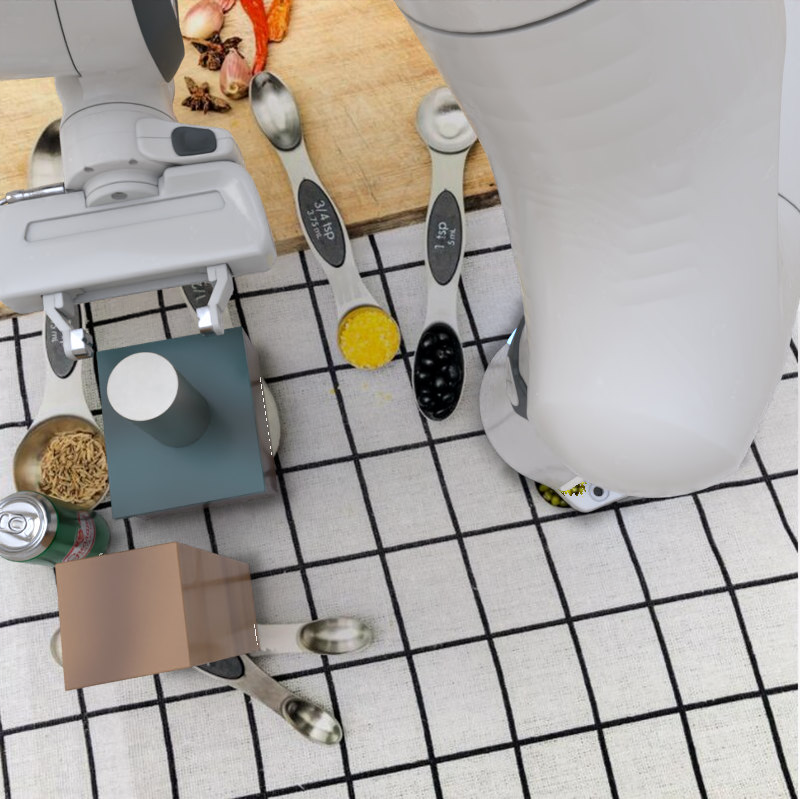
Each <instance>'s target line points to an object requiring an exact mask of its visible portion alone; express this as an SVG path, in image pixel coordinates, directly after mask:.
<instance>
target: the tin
mask: <svg viewBox="0 0 800 799" xmlns="http://www.w3.org/2000/svg"><path fill="white" fill-rule="evenodd" d="M107 395H108V399H109V402H110V404H111V406H112V407H113V409H114V410H115V411H116V412H117V413H118V414H119V415H121V416H122V417H124V418H125V419H127V420H128V421H129V422H131V423H132V424H134V425H135V426H137V427H138V428H140V429H141V430H143V431H144V432H146V433H147V434H149V435H150V436H152V437H153V438H155V439H156V440H158V441H159V442H161V443H162V444H164V445H167V446H170V447H183V446H187V445H189V444H191V443H193V442H195V441H196V440H198V439H199V438H200V437H201V436H202V435H203V433H204V432H205V430H206V428H207V426H208V423H209V419H210V411H209V406H208V403H207V402H206V400H205V398H204V397H203V396H202V395H201V394H200V393H199V392H198V391H197V390H196V389H195V388H194V386H193V385H192V384H191V383H190V382H189V381H188V380H187V379H186V378H185V377H184V376H183V375H182V374H181V373H180V372H179V371H178V370H177V369H176V368H175V367H174V366H173V365H172V364H171V363H170V361H169V360H167V359H166V358H165V357H163V356H161V355H159V354H156V353H151V352H140V353H135V354H132V355H130V356H128V357H126V358H124V359H123V360H122V361H120V362H119V363H118V364H117V365H116V366H115V368H114V369H113V371H112V372H111V374H110V377H109V379H108V384H107Z"/></svg>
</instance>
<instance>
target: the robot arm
mask: <svg viewBox="0 0 800 799" xmlns="http://www.w3.org/2000/svg"><path fill="white" fill-rule="evenodd" d="M393 2H394V3H395V6H396V7H397V9H398V10H399V11H400V13H401V14H402V16H403V18H404V19H405V21H406V22H407V24H408V25H409V27H410V29H411V30H412V31H413V33H414V35H415V37H416V38H417V40H418V41H419V43H420V44H421V46H422V47H423V49H424V51H425V52H426V54H427V55H428V57H429V59H430V60H431V62H432V63H433V66H434V67H435V69H436V70H437V72H438V73H439V75H440V77H441V79H442V80H443V82H444V83H445V84H446V86H447V88H448V90H449V92H450V93H451V95H452V98H453V99H454V100H455V102H456V103H457V105H458V108H459V109H460V110H461V112H462V114H463V115H464V117H465V120H466V121H467V123H468V124H469V125H470V127H471V129H472V131H473V132H474V134H475V136H476V137H477V139H478V141H479V143H480V145H481V147H482V150H483V152H484V154H485V156H486V159H487V161H488V164H489V167H490V170H491V173H492V175H493V179H494V183H495V186H496V189H497V193H498V197H499V201H500V205H501V208H502V213H503V217H504V221H505V225H506V229H507V234H508V238H509V241H510V247H511V251H512V255H513V260H514V265H515V269H516V270H515V271H516V275H517V280H518V286H519V290H520V295H521V300H522V301H521V302H522V306H523V315H522V317H521V319H520V320H519V322H518V324H517V327H516V328H515V330H514V331H513V332H512V333H511V335H510V336H509V338H508V340H507V342H506V343H505V344H504V345H503V346H502V347H501V348H500V349H499V350H498V351H497V352H496V353H495V354H494V356H492V357H493V358H492V359H491V361H489V364H488V366H487V367H486V370H485V371H484V374H483V377H482V380H481V384H480V388H479V397H478V398H479V399H478V407H479V415H480V421H481V425H482V428H483V431H484V433H485V436H486V437H487V439H488V441H489V443H490V444H491V447H492V448H493V449H494V451H495V452H496V453H497V455H498V456H499V457H500V458H501V459H502V460H503V462H505V463H506V464H507V465H508V466H509V467H510V468H512V469H513V470H514V471H515V472H517V473H519V474H520V475H522V476H523V477H526V478H527V479H530V480H531V481H534V482H535V483H539V484H541V485H543V486H546V487H548V488H550V489H552V490H553V491H555V492H556V493H557V494H558V496H559V497H561V498H562V499H563V500H564V502H566V504H568V505H569V507H571V508H572V509H574V510H576V511H578V512H580V513H589V512H593V511H596V510H598V509H601V508H603V507H606V506H608V505H610V504H613V503H615V502H618V501H620V500H623V499H625V498H628V497H637V498H647V499H648V498H649V499H651V498H652V499H655V498H656V499H657V498H658V499H659V498H672V497H677V496H678V497H679V496H685V495H688V494H692V493H695V492H699V491H702V490H705V489H707V488H710V487H712V486H714V485H717V484H719V483H721V482H723V481H725V480H727V479H728V478H730V477H731V476H734V474H736V473H737V471H738V470H739V469H740V467H741V465H742V463H743V461H744V459H745V457H746V455H747V453H748V451H749V449H750V447H751V446H752V443H753V442H754V439H755V437H756V435H757V433H758V431H759V428H760V427H761V425H762V423H763V421H764V418H765V417H766V415H767V413H768V410H769V408H770V405H771V404H772V401H773V399H774V396H775V394H776V392H777V389H778V387H779V385H780V383H781V380H782V379H783V378H782V377H783V375H784V372H785V367H786V363H787V359H788V354H789V350H790V345H791V340H792V337H793V333H794V332H793V331H794V328H795V325H796V324H795V322H796V319H797V315H798V310H799V305H800V0H393ZM185 55H186V52H185V42H184V38H183V32H182V29H181V27H180V13H179V1H178V0H0V82H7V81H17V80H18V81H19V80H31V79H33V80H34V79H45V78H53V79H54V88H55V92H56V95H57V97H58V100H59V102H60V104H61V106H62V116H61V119H60V123H59V144H60V153H61V163H62V174H63V176H62V177H63V181H62V182H54V183H49V184H44V185H40V186H38V187H34V188H27V189H23V188H21V189H15V190H14V189H13V190H10V191H7V192H6V194H5V197H3V198H1V199H0V303H2V304H3V305H4V306H6V307H7V308H8V309H10V310H12V311H13V312H15V313H16V314H20V315H24V314H31V313H36V312H42V311H43V312H44V313H45V314H46V315H47V316H48V318H49V319H50V321H51V322H52V323H53V324H54V326H55V327H56V328H57V329H58V331H59V332H60V333H61V334H62V342H63V343H62V344H63V352H64V354H65V356H66V358H68V360H70V361H71V362H76V361H81V360H86V359H91V358H94V355H95V351H94V349H93V348H92V347H93V346H94V342H93V335H92V334H90V333H89V332H87V330H86V329H85V328H84V327H81V328H75V327H73V325H72V324H71V323H70V321H69V320H68V319H73V318H74V317H75V306H77V305H83V304H88V303H93V302H94V303H95V302H99V301H104V300H111V299H117V298H123V297H127V296H133V295H138V294H139V295H140V294H145V293H150V292H151V293H152V292H156V291H161V290H168V289H174V288H179V287H185V286H191V285H195V284H202V283H207V282H209V284H210V286H211V287H212V292H211V294H210V297H209V300H208V303H207V305H205V306H200V307H196V308H195V311H196V317H197V319H198V321H197V325H198V330H199V334H200V333H201V334H202V335H203V337H210V336H216V335H217V336H218V335H222V334H224V329H225V326H224V320H223V314H224V312H225V310H226V308H227V306H228V303H229V301H230V299H231V297H232V295H233V292H234V290H235V289H234V282H233V278H236V277H237V278H238V277H242V276H248V275H253V274H258V273H259V274H260V273H265V272H268V271H270V270H271V269H272V268H273V265H274V264H275V262H276V260H277V259H278V252H277V247H276V246H277V245H276V242H275V238H274V235H273V231H272V228H271V224H270V221H269V217H268V214H267V211H266V208H265V206H264V203H263V201H262V200H263V199H262V197H261V195H260V193H259V190H258V187H257V186H256V182H255V180H254V179H253V177H252V175H251V174H250V172H249V171H248V170H247V166H246V162H245V159H244V155H243V153H242V151H241V149H240V146H239V144H238V143H237V141H236V139H235V138H234V136H233V134H232V133H231V132H230V131H229V130H228V129H226V128H223V127H218V126H207V125H198V124H191V123H190V124H189V123H183V122H179V120H178V118H177V116H176V114H175V112H174V100H175V97H176V82H175V76H176V74H177V73H178V71H179V69H180V66H181V64H182V62H183V61H184V58H185ZM582 482H584V484H583V485H584V486H585V490H586V492H585V491H584V490H583V492H582V493H583V494H582V495H581V494H580V492H579V494H578V496H576V495H575V493H573V494H572V496H570V495H569V493H568V492H567V494H565V492H564V495H565V496H564V495H563V494H562V493H563V492H562V493H561V492H560V491H559V490H561V491H567V490H570V489H572V488H573V487H575V486H576V485H578V484H580V483H582ZM585 482H586V483H587V484H585ZM580 486H581V484H580ZM555 487H556V488H555ZM595 488H598V489H600V491H601V495H599V496H598V495H596V494H595V492H594V490H595ZM558 489H559V490H558ZM582 489H583V488H582ZM582 496H583V497H582Z"/></svg>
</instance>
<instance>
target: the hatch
mask: <svg viewBox="0 0 800 799" xmlns="http://www.w3.org/2000/svg"><path fill="white" fill-rule="evenodd" d="M244 331H245V330H244V328H243V326H242V325H239V326H235V327H230V328H224V334H222V335H218V336H217V335H216V336H210V337H203V335H202V334H201V333H200V332H199V333H195V334H189V335H183V336H177V337H172V338H166V339H161V340H160V339H159V340H155V341H148V342H144V343H138V344H137V343H136V344H132V345H127V346H120V347H115V348H110V349H104V350H98V351H96V361H97V372H98V373H97V374H98V383H99V393H100V394H99V395H100V404H101V414H102V424H103V434H104V446H105V454H106V465H107V475H108V484H109V486H108V487H109V496H110V506H111V518H112V520H114V521H120V520H125V519H131V518H137V516H142V515H148V514H153V513H159V512H164V511H170V510H175V509H180V508H186V507H191V506H197V505H202V504H208V503H213V502H219V501H224V500H230V499H235V498H241V497H246V496H251V495H257V494H262V493H267V489H266V482H265V475H264V468H263V461H262V454H261V447H260V440H259V433H258V426H257V419H256V412H255V405H254V398H253V391H252V384H251V377H250V371H249V364H248V357H247V350H246V343H245V336H244ZM140 352H151V353H156V354H159V355H161V356H163V357H165V358H166V359H167V360H169V361H170V363H171V364H172V365H173V366H174V367H175V368H176V369H177V370H178V371H179V372H180V373H181V374H182V375H183V376H184V377H185V378H186V379H187V380H188V381H189V382H190V383H191V384H192V385H193V386H194V388H195V389H196V390H197V391H198V392H199V393H200V394H201V395H202V396H203V397H204V398H205V400H206V402H207V403H208V406H209V411H210V419H209V423H208V426H207V428H206V430H205V432H204V433H203V435H202V436H201V437H200V438H199V439H198V440H196V441H195V442H193V443H191V444H189V445H187V446H183V447H170V446H167V445H164V444H162V443H161V442H159V441H158V440H156V439H155V438H153V437H152V436H150V435H149V434H147V433H146V432H144V431H143V430H141V429H140V428H138V427H137V426H135V425H134V424H132V423H131V422H129V421H128V420H127V419H125V418H124V417H122V416H121V415H119V414H118V413H117V412H116V411H115V410H114V409H113V407H112V406H111V404H110V402H109V399H108V395H107V384H108V379H109V377H110V374H111V372H112V371H113V369H114V368H115V366H116V365H117V364H118V363H119V362H120V361H122V360H123V359H124V358H126V357H128V356H130V355H132V354H135V353H140Z"/></svg>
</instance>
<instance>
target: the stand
mask: <svg viewBox="0 0 800 799" xmlns="http://www.w3.org/2000/svg"><path fill="white" fill-rule="evenodd" d="M54 569H55V578H56V579H55V580H56V592H57V605H58V606H57V607H58V618H59V632H60V643H61V644H60V645H61V657H62V658H61V659H62V671H63V681H64V683H63V684H64V691H65V692H68V691H74V690H79V689H85V688H90V687H95V686H101V685H106V684H111V683H115V682H121V681H126V680H127V681H128V680H131V679H137V678H138V679H139V678H143V677H147V676H154V675H158V674H163V673H168V672H174V671H180V670H185V669H189V668H195V667H198V666H203V665H207V664H210V663H214V662H220V661H223V660H227V659H231V658H234V657H239V656H243V655H247V654H251V653H252V654H253V653H255V652H259V651H261V645H260V643H261V642H260V636H259V630H258V622H257V614H256V608H255V600H254V599H255V598H254V591H253V585H252V584H253V583H252V578H251V569H250V564H249V563H247V562H244V561H241V560H238V559H234V558H231V557H227V556H225V555H221V554H217V553H214V552H212V551H208V550H205V549H202V548H199V547H195V546H191V545H188V544H186V543H182V542H179V541H171V542H165V543H160V544H154V545H149V546H144V547H138V548H133V549H128V550H122V551H117V552H111V553H104V555H100V556H94V557H89V558H83V559H78V560H73V561H67V562H62V563H57V564H55V567H54ZM254 624H255V628H254ZM255 629H256V636H257V641H256V636H255ZM257 643H258V645H257Z"/></svg>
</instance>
